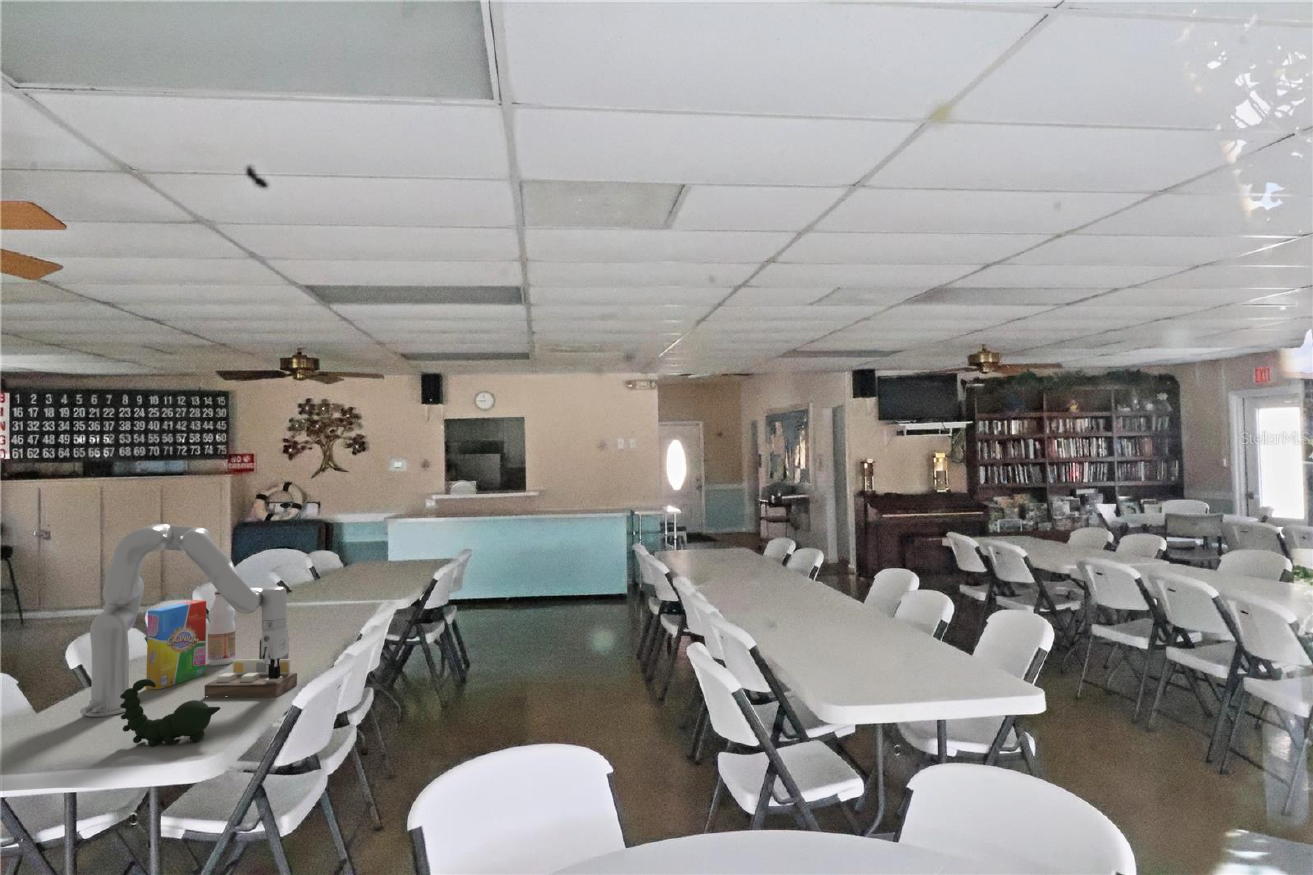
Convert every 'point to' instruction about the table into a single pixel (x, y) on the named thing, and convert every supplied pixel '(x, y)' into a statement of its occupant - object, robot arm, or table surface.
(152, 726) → the toy figurine
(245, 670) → the card
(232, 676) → the left button
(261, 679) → the button board
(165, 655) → the game box
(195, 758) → the table surface
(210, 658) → the fruit juice
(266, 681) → the right button
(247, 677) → the middle button
